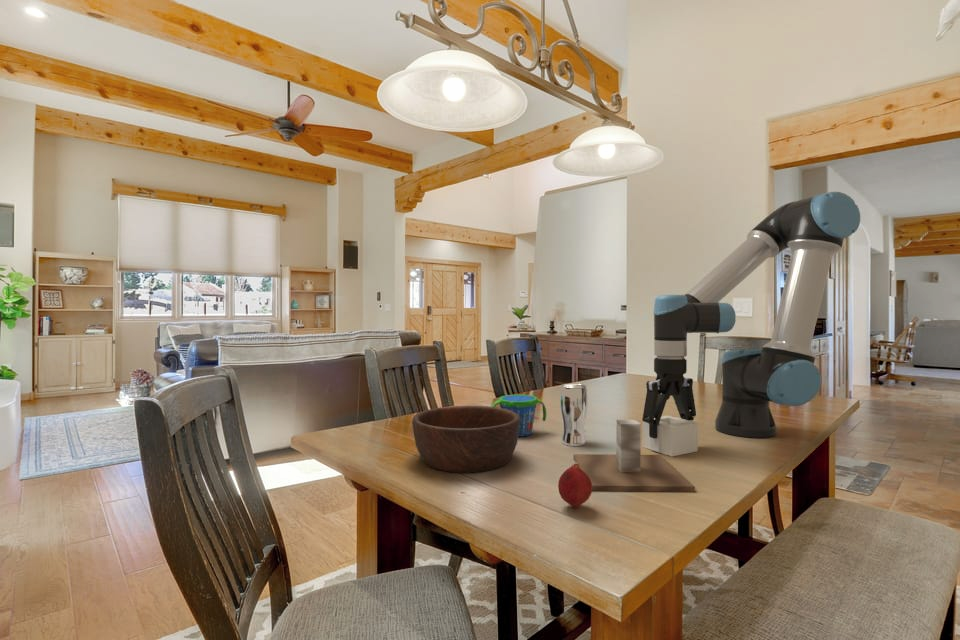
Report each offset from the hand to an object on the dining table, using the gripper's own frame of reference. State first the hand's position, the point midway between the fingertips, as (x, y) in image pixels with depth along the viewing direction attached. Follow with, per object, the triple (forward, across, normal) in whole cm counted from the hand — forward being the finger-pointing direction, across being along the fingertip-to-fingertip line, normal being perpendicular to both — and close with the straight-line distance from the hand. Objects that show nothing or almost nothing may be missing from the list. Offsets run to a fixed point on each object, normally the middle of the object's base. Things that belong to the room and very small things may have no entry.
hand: (669, 448), depth 121 cm
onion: (0, +43, +17) cm, 46 cm away
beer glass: (0, +17, -16) cm, 23 cm away
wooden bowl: (+1, +48, -17) cm, 51 cm away
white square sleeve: (0, 0, 0) cm, 0 cm away
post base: (0, +22, +8) cm, 23 cm away
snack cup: (+1, +25, -31) cm, 39 cm away
